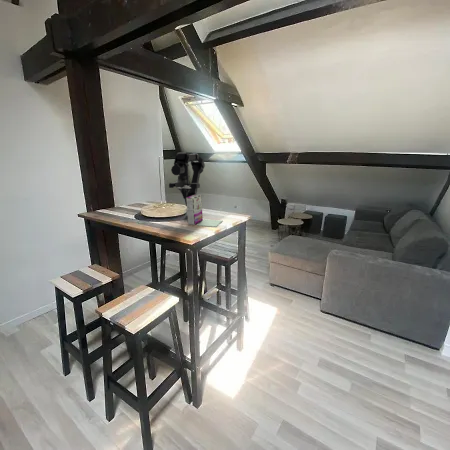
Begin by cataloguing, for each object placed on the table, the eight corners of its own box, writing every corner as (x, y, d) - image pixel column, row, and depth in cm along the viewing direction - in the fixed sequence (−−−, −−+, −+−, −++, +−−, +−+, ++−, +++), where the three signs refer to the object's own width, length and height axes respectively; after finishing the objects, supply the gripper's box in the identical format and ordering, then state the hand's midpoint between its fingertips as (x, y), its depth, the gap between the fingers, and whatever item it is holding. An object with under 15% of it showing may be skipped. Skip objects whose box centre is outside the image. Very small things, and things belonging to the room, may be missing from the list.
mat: (196, 225, 142) (196, 224, 142) (204, 219, 154) (204, 219, 154) (216, 227, 138) (216, 226, 138) (222, 221, 150) (222, 220, 150)
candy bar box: (195, 219, 154) (194, 194, 149) (202, 220, 152) (201, 194, 148) (187, 224, 144) (185, 197, 139) (194, 225, 142) (193, 197, 138)
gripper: (163, 174, 143) (165, 200, 147) (192, 175, 138) (193, 202, 142) (172, 173, 153) (173, 197, 157) (199, 173, 148) (200, 198, 153)
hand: (185, 199), depth 152 cm, fingers closed
